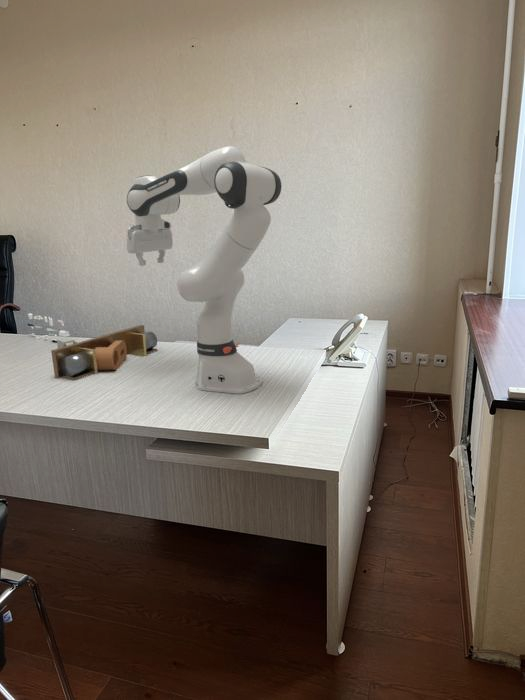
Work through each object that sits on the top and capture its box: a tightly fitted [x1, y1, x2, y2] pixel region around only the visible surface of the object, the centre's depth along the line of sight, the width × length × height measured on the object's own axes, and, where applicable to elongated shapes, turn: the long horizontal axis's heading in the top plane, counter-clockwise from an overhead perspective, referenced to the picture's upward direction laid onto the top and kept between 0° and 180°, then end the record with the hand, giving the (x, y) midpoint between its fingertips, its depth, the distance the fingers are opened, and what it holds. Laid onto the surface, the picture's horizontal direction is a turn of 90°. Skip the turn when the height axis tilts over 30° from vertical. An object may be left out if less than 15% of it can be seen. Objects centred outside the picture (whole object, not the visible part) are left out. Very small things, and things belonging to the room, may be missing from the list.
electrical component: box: [56, 336, 78, 349], centre depth 215 cm, size 24×6×5 cm, turn 41°
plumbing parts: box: [27, 312, 71, 344], centre depth 236 cm, size 6×35×12 cm, turn 52°
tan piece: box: [95, 341, 128, 371], centre depth 198 cm, size 18×8×7 cm
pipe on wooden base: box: [50, 324, 158, 381], centre depth 200 cm, size 10×44×10 cm, turn 149°
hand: (151, 264), depth 190 cm, fingers open, 8 cm apart
